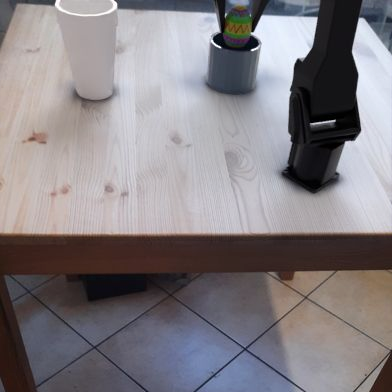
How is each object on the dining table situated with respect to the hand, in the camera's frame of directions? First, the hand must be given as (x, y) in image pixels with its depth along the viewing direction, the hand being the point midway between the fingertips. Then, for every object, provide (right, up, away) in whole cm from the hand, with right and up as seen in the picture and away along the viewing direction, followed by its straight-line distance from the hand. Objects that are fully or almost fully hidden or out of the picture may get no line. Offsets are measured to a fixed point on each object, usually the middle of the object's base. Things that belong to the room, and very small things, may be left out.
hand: (236, 32), depth 83 cm
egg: (0, -1, +2) cm, 2 cm away
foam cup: (-25, -9, +2) cm, 26 cm away
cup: (-1, -5, +7) cm, 8 cm away
